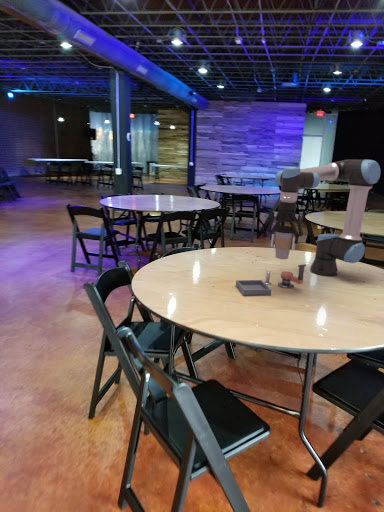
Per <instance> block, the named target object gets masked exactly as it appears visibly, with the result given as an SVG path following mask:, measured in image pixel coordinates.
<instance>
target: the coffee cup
mask: <svg viewBox="0 0 384 512" xmlns="http://www.w3.org/2000/svg"><path fill="white" fill-rule="evenodd" d="M274 232H275V241H274V247H275V259H277V260H288V259H289V256H290V250H292V243H293V237H294V231H293V230H292V227H291V225H290V226H289V225H279V226H277V227H276V229H275V230H274Z"/></svg>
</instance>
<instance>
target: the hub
mask: <svg viewBox="0 0 384 512" xmlns="http://www.w3.org/2000/svg"><path fill="white" fill-rule="evenodd" d="M291 282H292V281H291V280H286V279H282V278H281V282H278V283H277V286H278V287H279V288H282V289H293V288H294V287H295V284H293V283H291Z"/></svg>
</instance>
